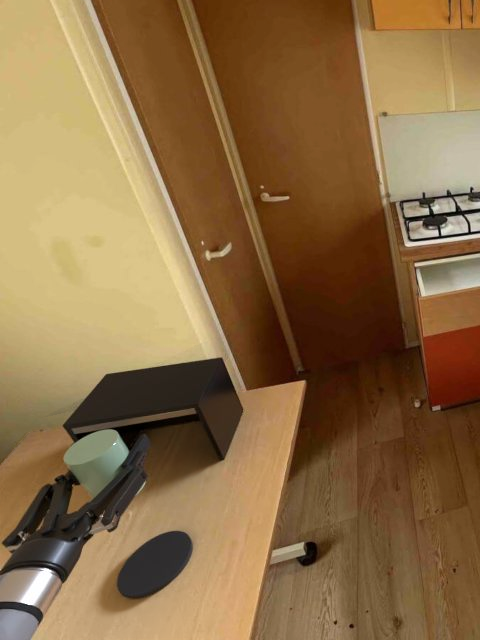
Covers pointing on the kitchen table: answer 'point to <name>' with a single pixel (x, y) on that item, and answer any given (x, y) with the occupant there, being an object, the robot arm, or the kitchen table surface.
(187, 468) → the kitchen table surface
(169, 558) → the trivet
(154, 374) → the dark wooden monitor stand
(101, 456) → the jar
